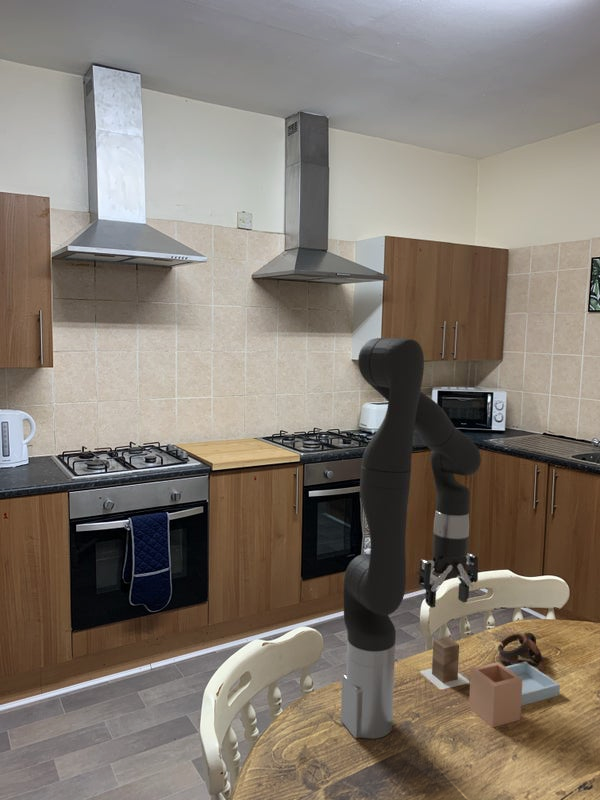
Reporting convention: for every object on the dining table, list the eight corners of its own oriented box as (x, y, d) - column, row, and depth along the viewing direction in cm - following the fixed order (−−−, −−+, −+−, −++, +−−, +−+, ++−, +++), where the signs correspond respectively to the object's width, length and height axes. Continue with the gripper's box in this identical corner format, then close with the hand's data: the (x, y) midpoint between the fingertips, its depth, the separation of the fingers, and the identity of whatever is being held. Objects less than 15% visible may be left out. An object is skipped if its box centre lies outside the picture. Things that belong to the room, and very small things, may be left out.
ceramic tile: (440, 692, 131) (440, 689, 131) (419, 673, 139) (419, 671, 139) (470, 684, 135) (470, 682, 135) (448, 667, 142) (448, 664, 142)
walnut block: (442, 683, 134) (444, 648, 133) (431, 673, 138) (433, 639, 137) (457, 679, 136) (459, 644, 135) (446, 670, 139) (448, 636, 139)
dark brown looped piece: (543, 684, 137) (525, 652, 136) (505, 687, 142) (488, 657, 142) (554, 649, 146) (537, 619, 146) (518, 654, 152) (502, 625, 152)
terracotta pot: (492, 730, 119) (494, 686, 118) (468, 710, 125) (470, 668, 124) (520, 722, 122) (522, 679, 121) (495, 703, 128) (498, 661, 127)
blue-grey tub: (511, 711, 125) (512, 697, 125) (478, 685, 134) (479, 672, 134) (559, 697, 130) (559, 684, 130) (524, 674, 139) (525, 661, 139)
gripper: (434, 540, 127) (430, 615, 129) (488, 533, 133) (484, 605, 135) (413, 529, 134) (410, 601, 136) (466, 524, 140) (462, 592, 141)
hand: (447, 603), depth 135 cm, fingers open, 8 cm apart
